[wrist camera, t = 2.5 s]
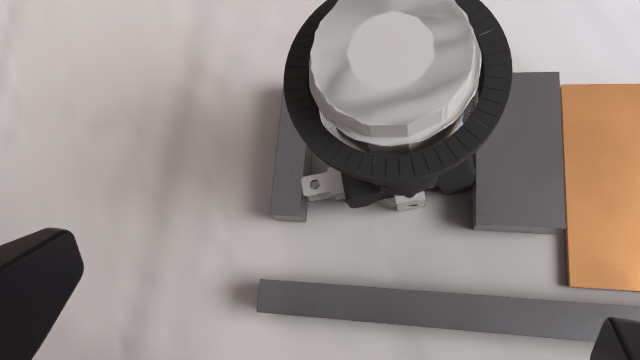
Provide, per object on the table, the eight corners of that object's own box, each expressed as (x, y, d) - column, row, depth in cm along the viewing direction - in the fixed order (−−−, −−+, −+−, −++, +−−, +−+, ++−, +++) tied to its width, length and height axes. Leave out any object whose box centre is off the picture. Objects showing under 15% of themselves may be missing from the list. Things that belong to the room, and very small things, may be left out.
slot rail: (268, 312, 20) (256, 312, 18) (291, 88, 22) (282, 72, 21) (822, 361, 16) (861, 364, 15) (778, 83, 18) (808, 64, 17)
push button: (320, 257, 20) (228, 203, 11) (301, 135, 22) (206, -6, 12) (488, 225, 19) (552, 136, 10) (455, 100, 21) (484, -82, 11)
